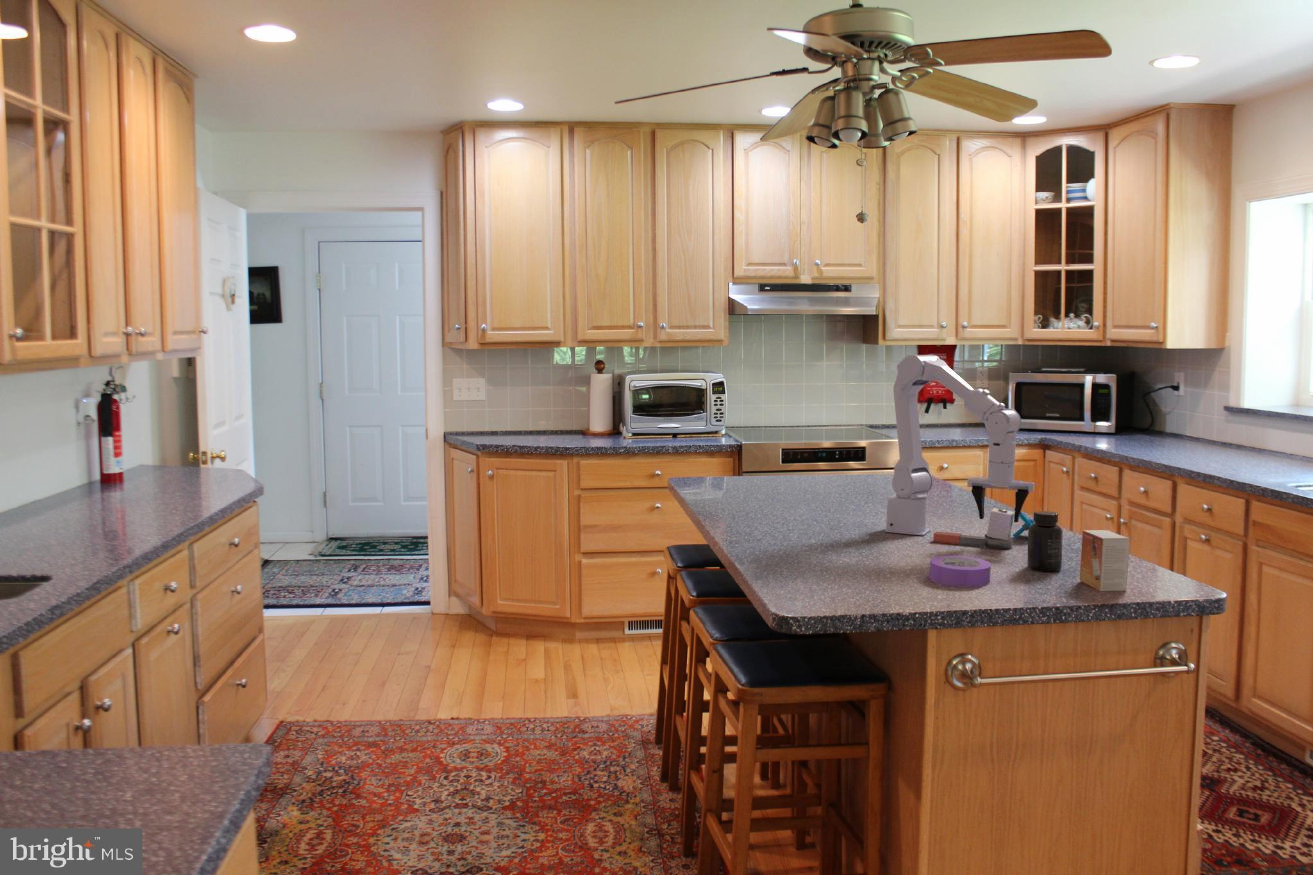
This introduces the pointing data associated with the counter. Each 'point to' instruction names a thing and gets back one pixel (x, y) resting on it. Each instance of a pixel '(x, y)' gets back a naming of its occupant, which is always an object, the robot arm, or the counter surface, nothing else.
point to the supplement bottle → (1045, 543)
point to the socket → (1000, 524)
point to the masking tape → (960, 571)
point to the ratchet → (972, 540)
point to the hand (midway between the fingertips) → (998, 519)
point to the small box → (1104, 560)
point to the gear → (1025, 525)
